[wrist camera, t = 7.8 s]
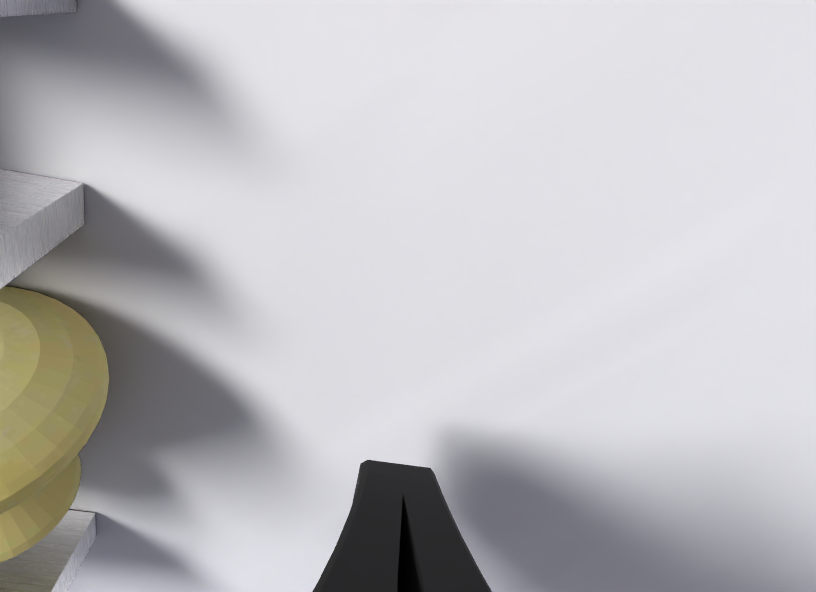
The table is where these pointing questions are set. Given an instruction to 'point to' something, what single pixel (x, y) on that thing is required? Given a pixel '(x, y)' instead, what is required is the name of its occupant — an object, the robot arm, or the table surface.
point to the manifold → (3, 261)
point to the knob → (44, 412)
